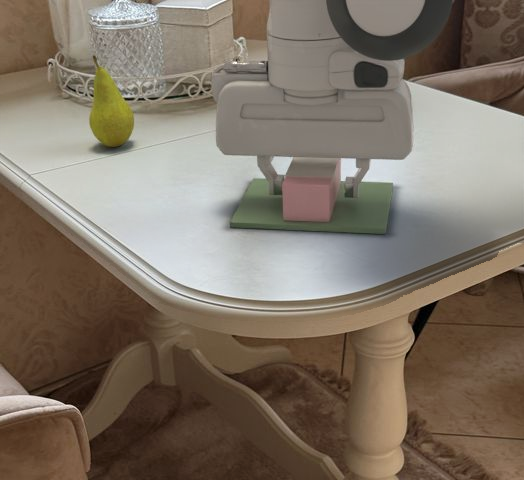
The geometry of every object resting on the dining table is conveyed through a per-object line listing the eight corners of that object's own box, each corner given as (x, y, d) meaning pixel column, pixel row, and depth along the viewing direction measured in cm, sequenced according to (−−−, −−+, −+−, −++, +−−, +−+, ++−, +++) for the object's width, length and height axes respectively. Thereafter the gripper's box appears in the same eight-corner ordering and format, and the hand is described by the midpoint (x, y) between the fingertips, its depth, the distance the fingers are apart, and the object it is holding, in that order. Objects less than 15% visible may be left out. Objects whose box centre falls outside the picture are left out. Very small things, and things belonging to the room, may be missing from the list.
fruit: (133, 135, 107) (120, 43, 101) (140, 149, 103) (127, 54, 96) (91, 141, 106) (75, 48, 100) (96, 156, 102) (80, 59, 95)
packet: (341, 184, 89) (341, 149, 86) (330, 222, 80) (330, 184, 78) (297, 183, 89) (297, 148, 87) (282, 220, 81) (281, 183, 79)
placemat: (392, 187, 89) (393, 182, 88) (385, 234, 79) (385, 228, 79) (253, 182, 92) (253, 178, 91) (230, 227, 82) (229, 222, 82)
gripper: (201, 69, 76) (213, 202, 84) (416, 70, 72) (408, 210, 80) (217, 52, 81) (226, 180, 89) (419, 53, 77) (410, 186, 85)
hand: (314, 194), depth 85 cm, fingers open, 7 cm apart
